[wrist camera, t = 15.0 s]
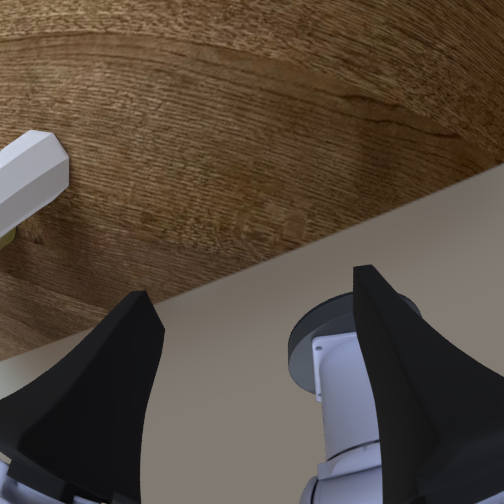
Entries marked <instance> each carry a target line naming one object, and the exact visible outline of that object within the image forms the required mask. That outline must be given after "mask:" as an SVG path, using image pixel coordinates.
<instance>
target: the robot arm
mask: <svg viewBox="0 0 504 504" xmlns="http://www.w3.org/2000/svg"><path fill="white" fill-rule="evenodd" d="M353 317H354V322H355V328H356V332H350V333H343V334H335V335H328V336H320V337H315V338H314V339H313V340H312V352H313V364H314V378H315V392H316V401H318V402H322V410H323V422H324V437H325V452H326V462H324V463H320V464H318V465H317V466H318V475H317V476H314V477H312V478H311V479H310V480H309V482H308V483H307V485H306V487H305V488H304V490H303V492H302V494H301V498H300V502H299V504H504V377H503V376H501V375H499V374H498V373H496V372H494V371H492V370H491V369H489V368H487V367H485V366H484V365H482V364H481V363H479V362H477V361H476V360H474V359H473V358H472V357H470V356H469V355H467V354H466V353H464V352H463V351H461V350H460V349H458V348H457V347H456V346H454V345H453V344H452V343H450V342H449V341H448V340H447V339H445V338H444V337H443V336H442V335H441V334H439V333H438V332H437V331H436V330H435V329H433V328H432V327H431V326H430V325H429V324H428V323H427V322H426V321H425V320H424V319H423V318H422V317H420V316H419V315H418V314H417V313H416V312H415V311H414V310H413V309H412V308H411V307H410V306H409V305H408V304H407V303H406V302H405V300H404V299H403V298H402V297H401V296H400V295H399V294H398V293H397V292H396V291H395V290H394V289H393V288H392V287H391V285H390V284H389V283H388V282H387V281H386V280H385V279H384V278H383V277H382V275H381V274H380V273H379V272H378V271H377V270H376V268H375V267H374V266H373V265H364V266H356V267H353ZM164 333H165V328H164V326H163V324H162V322H161V320H160V318H159V317H158V315H157V313H156V311H155V309H154V307H153V305H152V303H151V301H150V298H149V296H148V294H147V292H146V290H143V291H132V292H130V293H129V294H128V295H127V296H126V297H125V298H124V299H123V300H122V301H121V302H120V303H119V304H118V305H117V306H116V307H115V308H114V309H113V310H112V311H111V312H110V313H109V314H108V315H107V316H106V317H105V318H104V319H103V320H102V321H101V322H100V323H99V324H98V325H97V326H96V327H95V328H94V329H93V330H92V332H90V333H89V334H88V335H87V336H86V337H85V338H84V339H83V340H82V341H81V342H80V343H79V344H78V345H77V346H76V347H75V348H74V349H73V350H72V351H71V352H69V353H68V354H67V355H66V356H65V357H64V358H63V359H61V360H60V361H59V362H58V363H57V364H55V365H54V366H53V367H52V368H50V369H49V370H48V371H46V372H45V373H43V374H42V375H41V376H39V377H38V378H36V379H35V380H34V381H32V382H31V383H29V384H28V385H26V386H24V387H23V388H21V389H20V390H18V391H16V392H14V393H13V394H11V395H9V396H7V397H5V398H3V399H1V400H0V452H2V453H3V454H4V455H6V456H7V457H9V458H10V459H12V461H11V463H10V465H9V464H7V463H6V462H4V461H2V460H1V459H0V504H101V503H106V504H141V494H140V454H141V443H142V433H143V425H144V419H145V412H146V408H147V403H148V400H149V396H150V393H151V389H152V386H153V382H154V379H155V375H156V372H157V368H158V365H159V361H160V358H161V354H162V348H163V341H164Z"/></svg>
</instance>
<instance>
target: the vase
mask: <svg viewBox="0 0 504 504" xmlns="http://www.w3.org/2000/svg"><path fill="white" fill-rule="evenodd" d="M15 232H16V226H15V227H14V228H13V229H11V230H10V231H9V232H7V233H6V234H5V235H3V236H2V237H1V238H0V250H1V249H2V248H3V247H4V246H6V245H8V244H9V243H10V242H11V241H12V240H13V239H14V236H15Z"/></svg>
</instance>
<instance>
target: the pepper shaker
mask: <svg viewBox="0 0 504 504" xmlns="http://www.w3.org/2000/svg"><path fill="white" fill-rule="evenodd" d="M68 186H69V155H68V154H67V152H66V151H65V150H64V148H63V147H62V145H61V144H60V142H59V141H58V139H57V138H56V136H55V135H54V134H53V133H50V132H43V131H35V130H29V131H28V132H26V133H25V134H23V135H22V136H20V137H19V138H18V139H16V140H15V141H13V142H12V143H10V144H9V145H8V146H6V147H5V148H4V149H2V150H1V151H0V238H1V237H2V236H3V235H5V234H6V233H7V232H9V231H10V230H11V229H13V228H14V227H15V226H17V225H18V224H20V223H21V222H22V221H24V220H25V219H27V218H28V217H29V216H31V215H32V214H34V213H35V212H37V211H38V210H40V209H41V208H43V207H44V206H46V205H47V204H49V203H50V202H52V201H53V200H54V199H55V198H56V197H57V196H58V195H59V194H60V193H61V192H63V191H64V190H65V189H66V188H67V187H68Z"/></svg>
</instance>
